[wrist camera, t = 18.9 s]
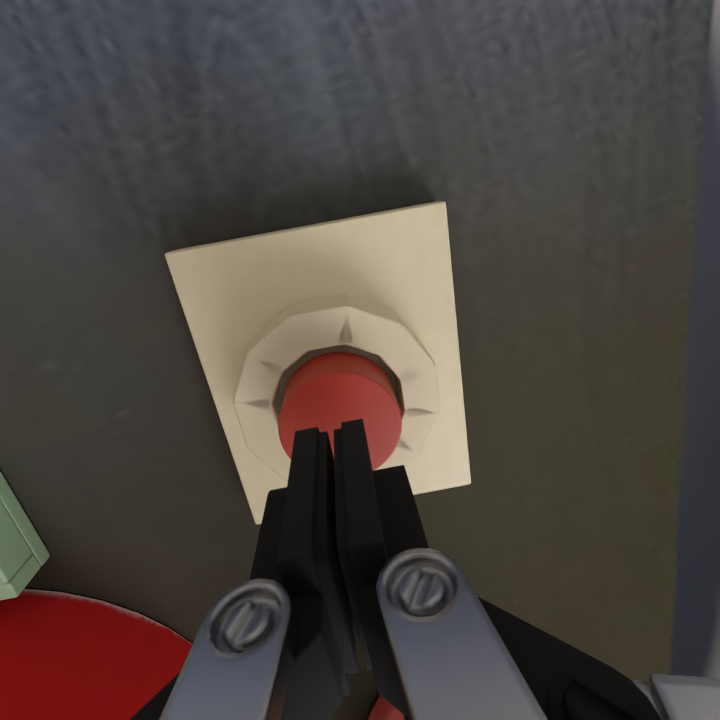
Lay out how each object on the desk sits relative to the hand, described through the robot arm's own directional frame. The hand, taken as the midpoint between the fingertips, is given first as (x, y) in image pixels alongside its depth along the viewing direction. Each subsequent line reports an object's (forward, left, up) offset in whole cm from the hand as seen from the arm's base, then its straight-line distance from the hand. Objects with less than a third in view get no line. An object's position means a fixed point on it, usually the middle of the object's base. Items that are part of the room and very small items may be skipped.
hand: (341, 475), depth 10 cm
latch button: (0, 0, -4) cm, 4 cm away
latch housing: (0, 0, -6) cm, 6 cm away
